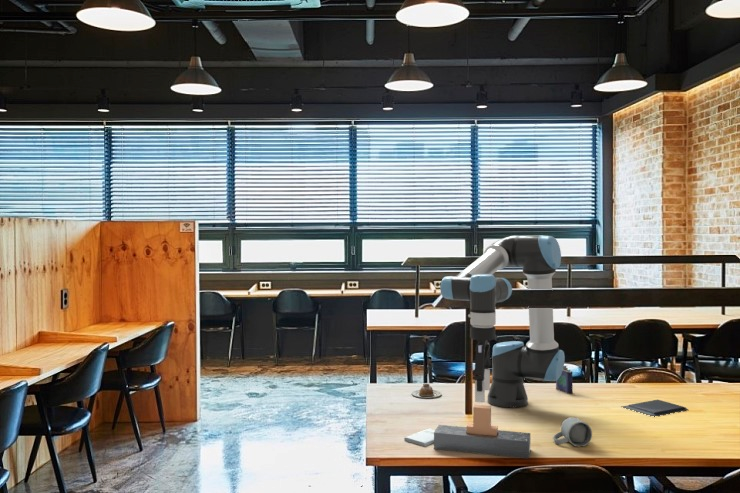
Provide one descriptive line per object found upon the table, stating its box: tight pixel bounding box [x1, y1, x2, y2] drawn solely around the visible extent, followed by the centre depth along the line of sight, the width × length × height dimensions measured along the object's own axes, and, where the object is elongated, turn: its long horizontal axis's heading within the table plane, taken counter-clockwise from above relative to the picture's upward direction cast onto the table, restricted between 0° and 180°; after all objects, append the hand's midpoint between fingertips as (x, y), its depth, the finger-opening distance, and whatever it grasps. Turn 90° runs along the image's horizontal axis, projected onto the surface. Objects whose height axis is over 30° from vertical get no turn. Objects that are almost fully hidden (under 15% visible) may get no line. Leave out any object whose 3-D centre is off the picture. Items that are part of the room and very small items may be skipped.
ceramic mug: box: [552, 416, 593, 447], centre depth 197 cm, size 11×8×8 cm
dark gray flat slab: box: [620, 399, 689, 418], centre depth 235 cm, size 20×2×15 cm
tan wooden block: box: [466, 404, 499, 436], centre depth 191 cm, size 3×9×12 cm, turn 73°
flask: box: [555, 364, 574, 395], centre depth 260 cm, size 9×3×11 cm, turn 21°
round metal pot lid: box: [411, 383, 442, 399], centre depth 254 cm, size 12×12×5 cm
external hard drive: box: [403, 428, 436, 447], centre depth 201 cm, size 2×8×12 cm
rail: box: [433, 424, 531, 460], centre depth 191 cm, size 8×28×5 cm, turn 73°
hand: (482, 395), depth 191 cm, fingers open, 13 cm apart
